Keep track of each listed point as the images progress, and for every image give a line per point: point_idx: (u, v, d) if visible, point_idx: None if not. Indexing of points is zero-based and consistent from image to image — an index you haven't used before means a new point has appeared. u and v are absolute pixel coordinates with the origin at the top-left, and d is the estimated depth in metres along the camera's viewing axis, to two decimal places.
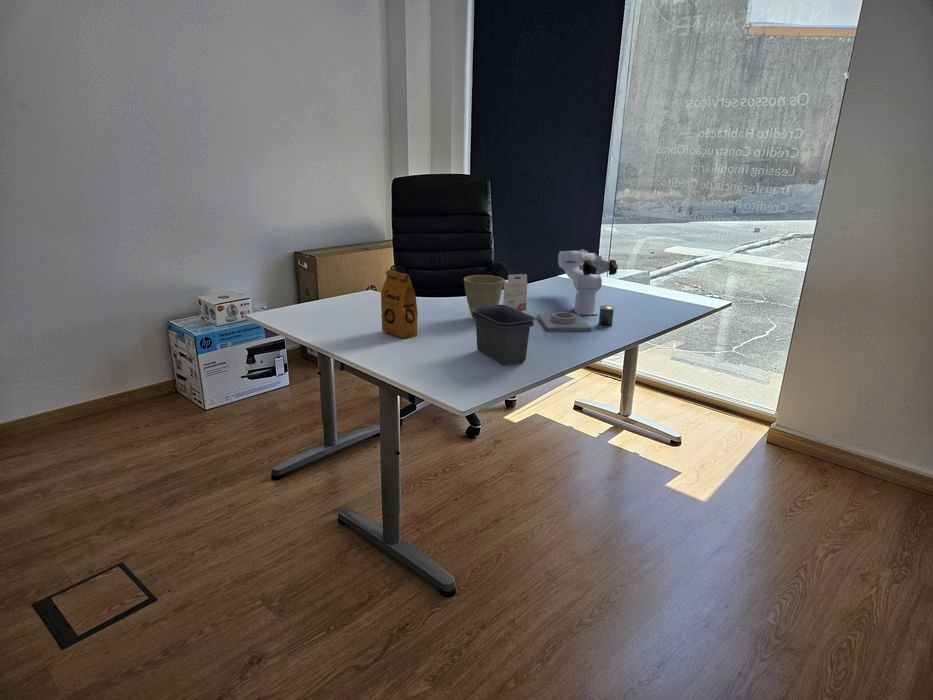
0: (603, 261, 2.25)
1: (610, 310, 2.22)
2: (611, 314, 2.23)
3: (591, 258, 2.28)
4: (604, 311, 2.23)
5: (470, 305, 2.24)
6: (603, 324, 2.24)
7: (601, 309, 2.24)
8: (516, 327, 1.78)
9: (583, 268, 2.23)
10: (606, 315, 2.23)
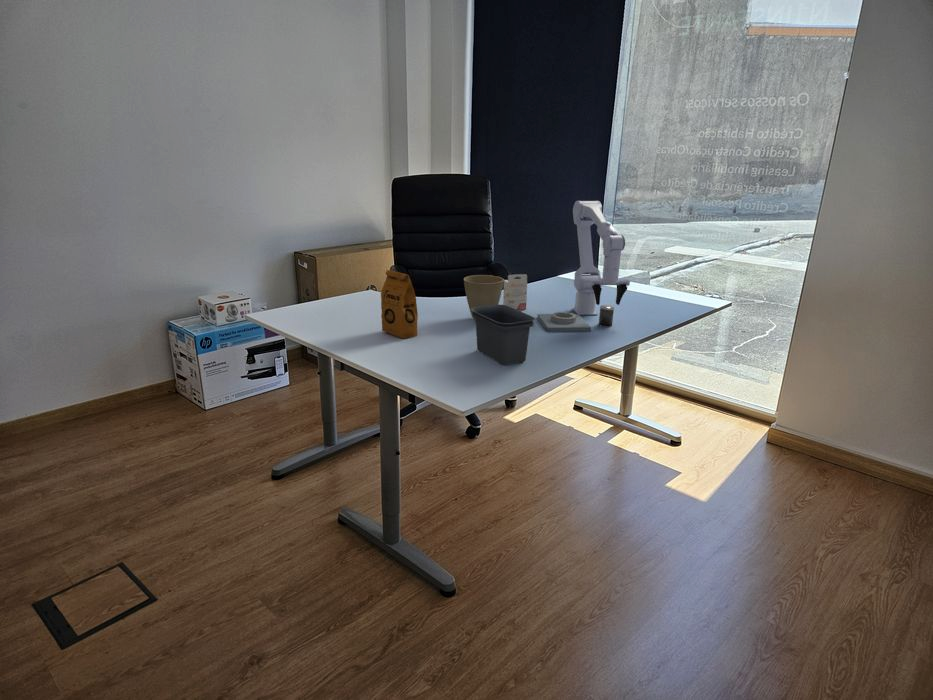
0: None
1: (610, 310, 2.22)
2: (611, 314, 2.23)
3: (609, 271, 2.17)
4: (604, 311, 2.23)
5: (470, 305, 2.24)
6: (603, 324, 2.24)
7: (601, 309, 2.24)
8: (516, 327, 1.78)
9: (592, 285, 2.22)
10: (606, 315, 2.23)
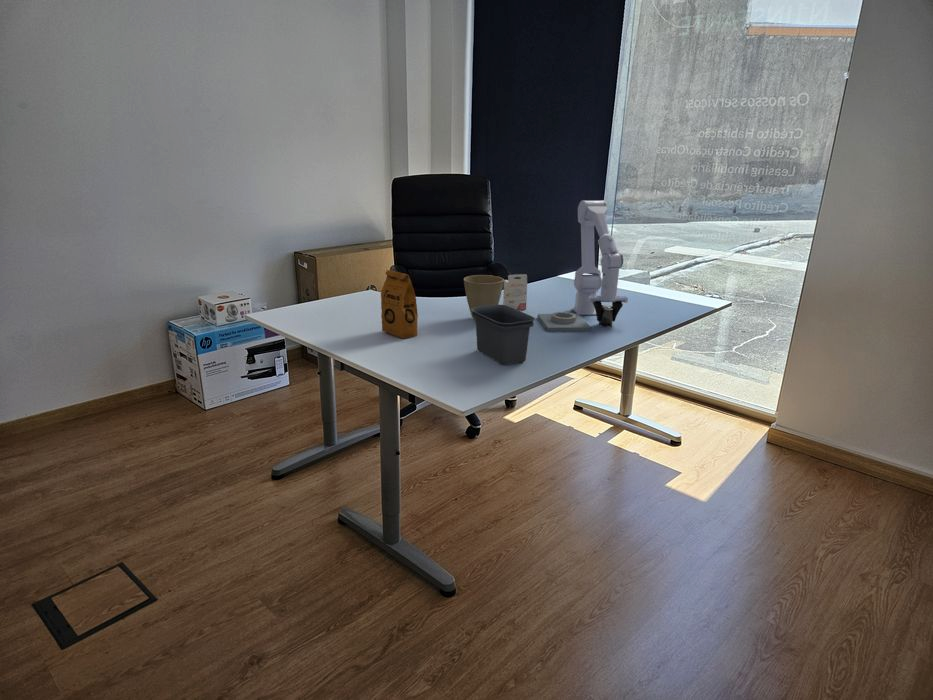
0: None
1: (610, 310, 2.22)
2: (611, 314, 2.23)
3: (607, 289, 2.20)
4: (604, 311, 2.23)
5: (470, 305, 2.24)
6: (603, 324, 2.24)
7: None
8: (516, 327, 1.78)
9: (593, 302, 2.24)
10: (606, 315, 2.23)
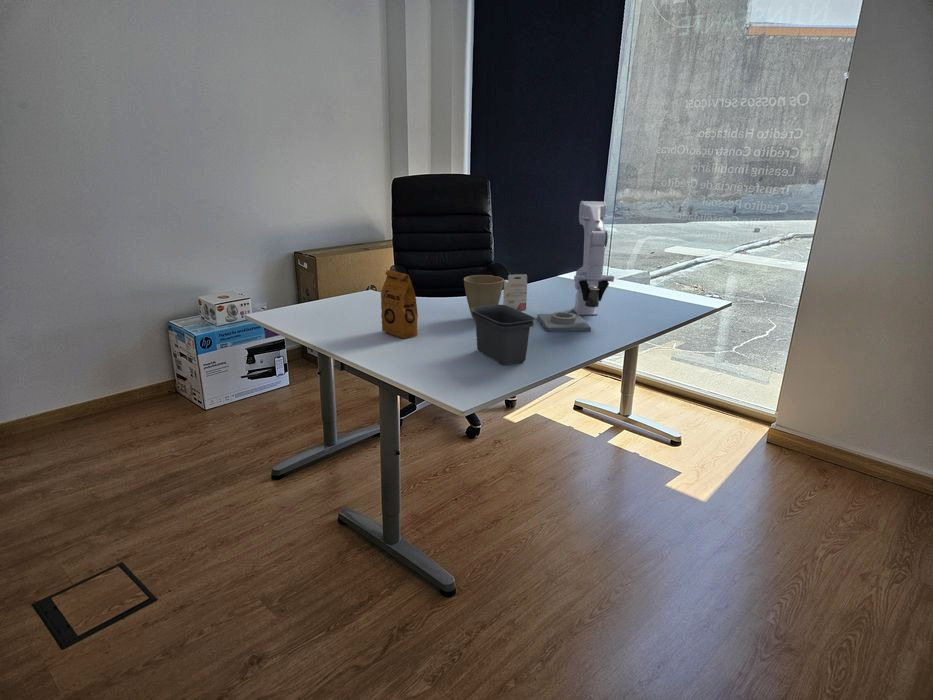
0: None
1: (596, 290, 2.20)
2: (597, 294, 2.20)
3: (593, 267, 2.17)
4: (590, 291, 2.20)
5: (470, 305, 2.24)
6: (589, 304, 2.22)
7: None
8: (516, 327, 1.78)
9: (579, 282, 2.21)
10: (592, 295, 2.20)
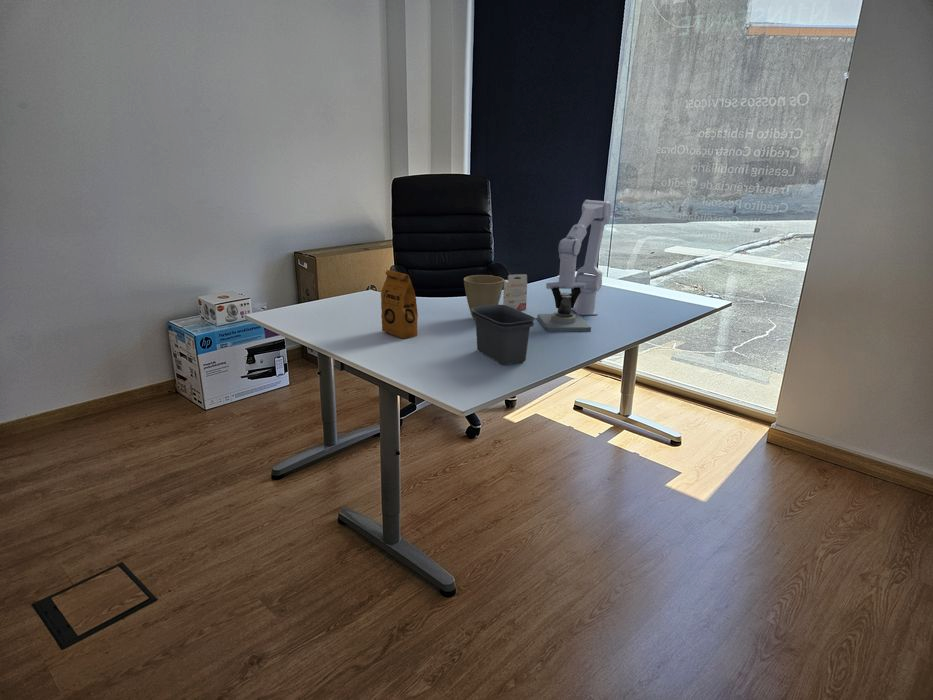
0: (572, 286, 2.20)
1: (568, 297, 2.20)
2: (569, 301, 2.21)
3: (564, 275, 2.17)
4: (562, 298, 2.21)
5: (470, 305, 2.24)
6: (562, 312, 2.22)
7: None
8: (516, 327, 1.78)
9: (552, 289, 2.22)
10: (564, 302, 2.21)
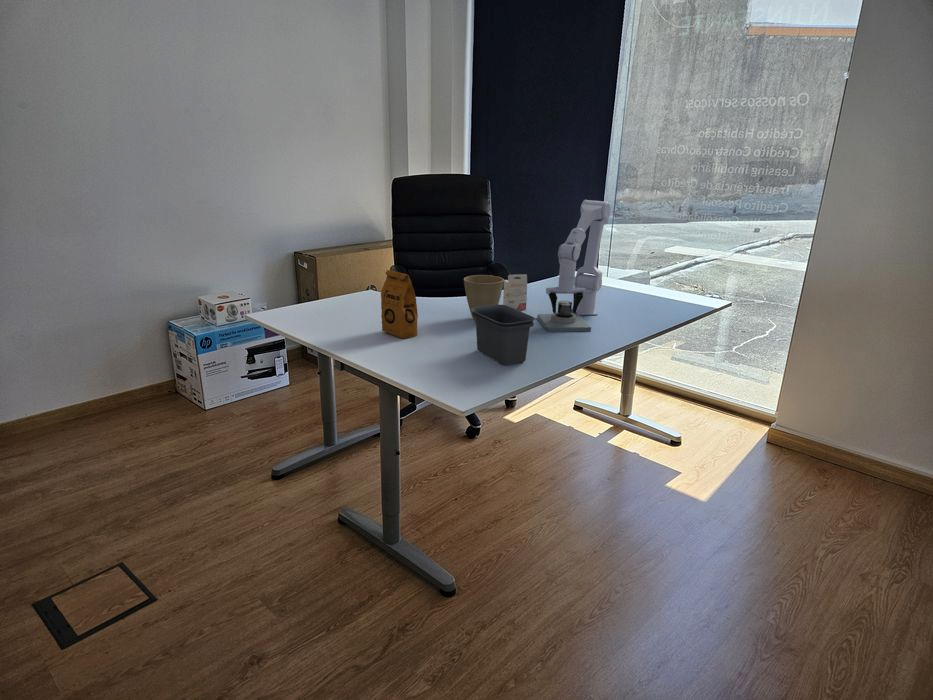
0: (572, 291, 2.20)
1: (568, 305, 2.21)
2: (569, 309, 2.22)
3: (564, 280, 2.18)
4: (562, 306, 2.22)
5: (470, 305, 2.24)
6: None
7: (559, 305, 2.22)
8: (516, 327, 1.78)
9: (549, 294, 2.22)
10: (564, 311, 2.22)
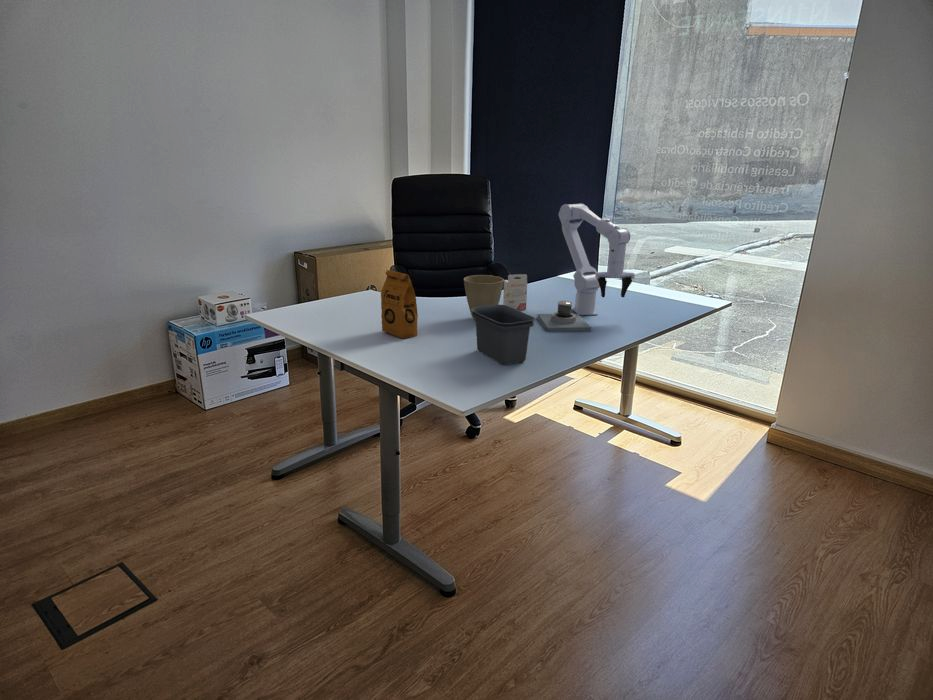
0: None
1: (568, 305, 2.21)
2: (569, 309, 2.22)
3: (614, 264, 2.23)
4: (562, 307, 2.22)
5: (470, 305, 2.24)
6: None
7: (559, 305, 2.22)
8: (516, 327, 1.78)
9: (598, 278, 2.27)
10: (564, 311, 2.22)
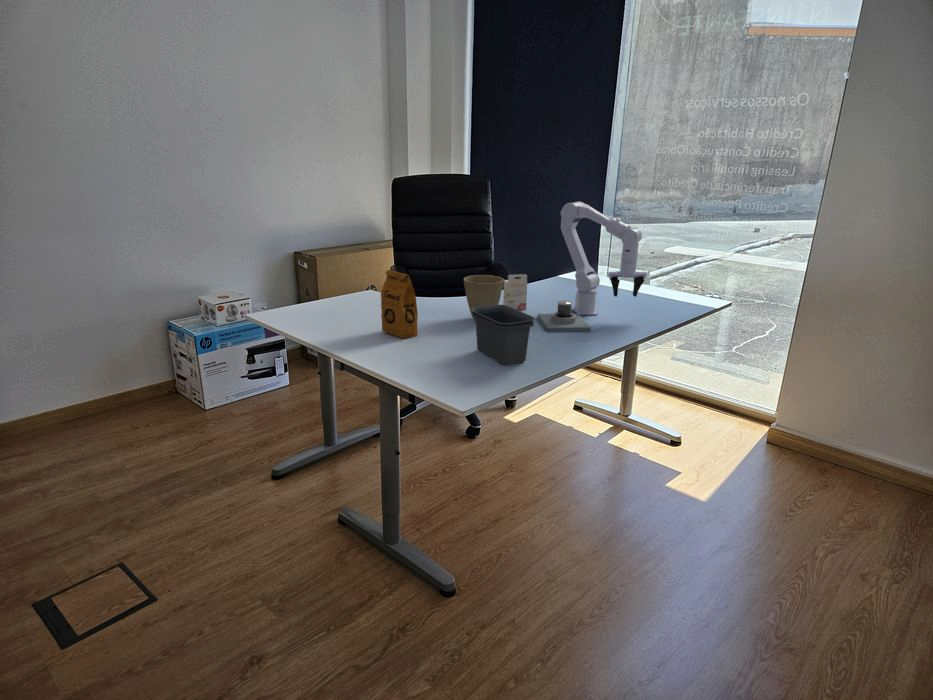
0: (633, 275, 2.27)
1: (567, 305, 2.21)
2: (569, 309, 2.22)
3: (626, 264, 2.24)
4: (561, 306, 2.22)
5: (470, 305, 2.24)
6: None
7: (558, 304, 2.23)
8: (516, 327, 1.78)
9: (610, 278, 2.29)
10: (563, 310, 2.22)
